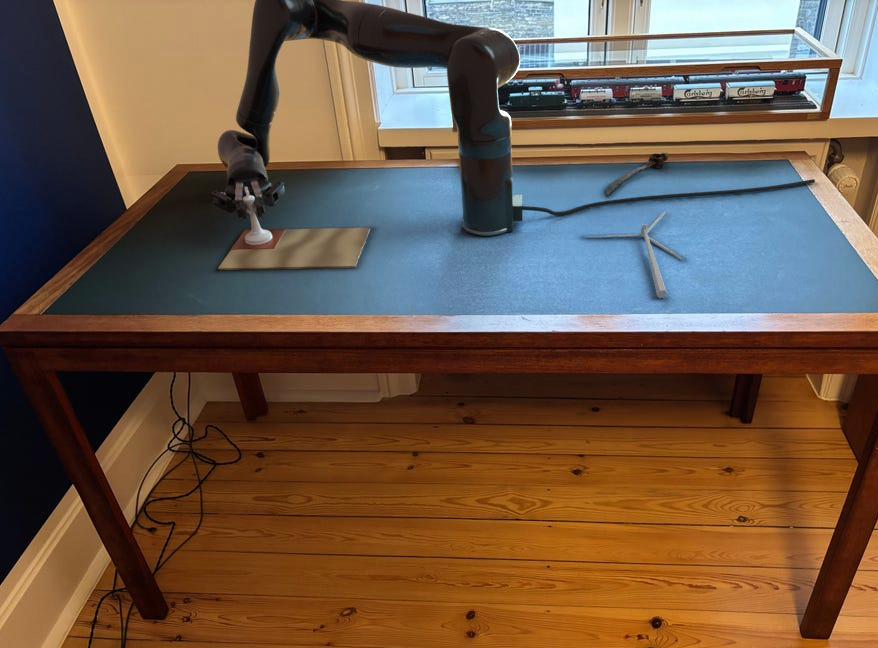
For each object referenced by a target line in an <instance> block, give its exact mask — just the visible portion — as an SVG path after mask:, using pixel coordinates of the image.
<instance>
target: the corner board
mask: <svg viewBox="0 0 878 648" xmlns="http://www.w3.org/2000/svg"><path fill="white" fill-rule="evenodd" d="M371 228H372V227H337V228H336V227H331V228H330V227H329V228H262V229H263V230H268V231H270V232H271V235H272V239H271V240H270V241H268V242H266V243H264V244H259V245H250V244H247V243H246V242H245V236H246V234H248V233H249V232H250V231H251V230H252V229H244V230H243V232H242V233H241V234H240V236H239V237H238V239H237V240H236V241H235V243H234V244H233V245H232V247H231V248H230V251H229V252H228V253H227V255H226V256H225V258H223V260H222V262H221V263H220V265H218V267H217V271H248V270H250V271H253V270H304V269H305V270H307V269H311V270H312V269H313V270H315V269H355V268H357V265H358V263H359V260H360V257H361V255H362V253H363V251H364V247H365V245H366V243H367V239H368V237H369V236H370V232H371V231H372V230H371Z"/></svg>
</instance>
